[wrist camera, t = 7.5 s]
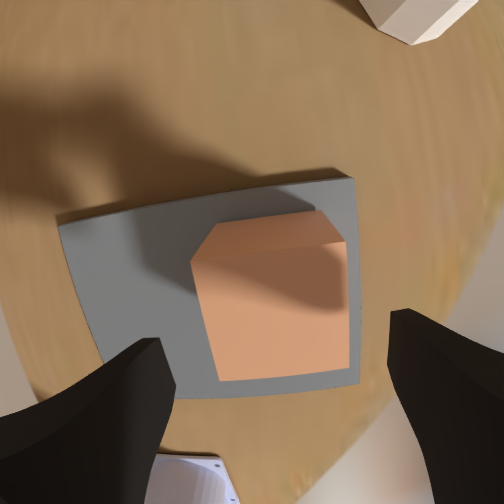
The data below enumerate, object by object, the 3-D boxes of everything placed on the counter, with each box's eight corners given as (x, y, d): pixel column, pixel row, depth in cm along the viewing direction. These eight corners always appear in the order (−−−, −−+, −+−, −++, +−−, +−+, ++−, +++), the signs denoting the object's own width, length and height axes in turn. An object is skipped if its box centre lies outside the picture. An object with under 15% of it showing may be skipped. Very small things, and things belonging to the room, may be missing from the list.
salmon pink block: (328, 304, 17) (349, 367, 12) (233, 315, 18) (219, 381, 12) (320, 209, 16) (345, 241, 10) (216, 223, 16) (189, 261, 11)
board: (356, 374, 20) (359, 383, 19) (124, 388, 22) (119, 396, 21) (349, 176, 16) (354, 177, 15) (66, 222, 18) (57, 226, 17)
